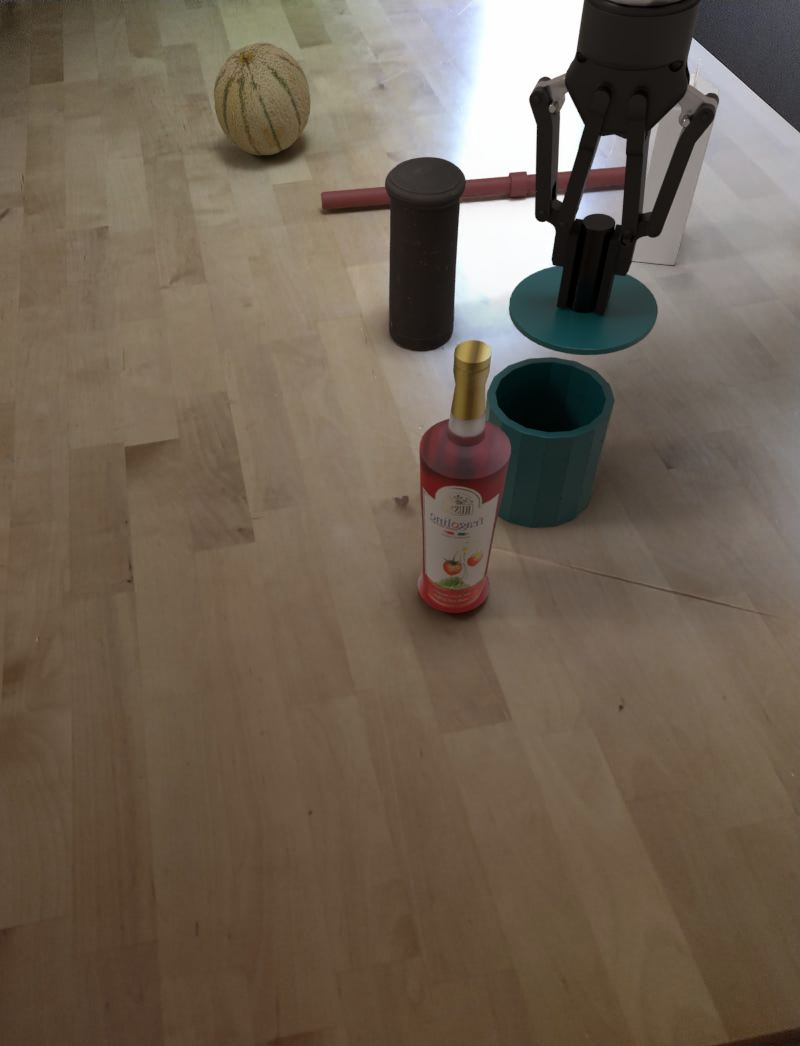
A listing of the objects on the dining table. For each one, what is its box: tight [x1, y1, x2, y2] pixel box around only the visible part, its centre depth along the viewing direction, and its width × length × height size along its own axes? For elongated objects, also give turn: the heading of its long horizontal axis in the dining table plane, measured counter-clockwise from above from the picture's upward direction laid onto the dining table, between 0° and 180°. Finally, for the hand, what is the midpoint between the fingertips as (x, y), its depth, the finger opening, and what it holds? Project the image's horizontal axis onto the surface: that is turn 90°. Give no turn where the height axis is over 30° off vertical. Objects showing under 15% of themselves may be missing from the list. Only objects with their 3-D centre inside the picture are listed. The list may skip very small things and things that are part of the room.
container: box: [384, 156, 467, 351], centre depth 104 cm, size 9×9×20 cm
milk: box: [632, 58, 720, 266], centre depth 110 cm, size 6×6×22 cm
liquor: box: [417, 339, 511, 614], centre depth 76 cm, size 7×7×28 cm
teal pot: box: [485, 356, 615, 529], centre depth 90 cm, size 12×12×12 cm
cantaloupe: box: [213, 42, 312, 156], centre depth 136 cm, size 15×15×15 cm
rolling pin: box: [320, 165, 626, 210], centre depth 128 cm, size 45×3×3 cm, turn 92°
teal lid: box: [508, 213, 659, 356], centre depth 75 cm, size 13×13×9 cm
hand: (583, 301), depth 78 cm, fingers closed on teal lid, 3 cm apart
